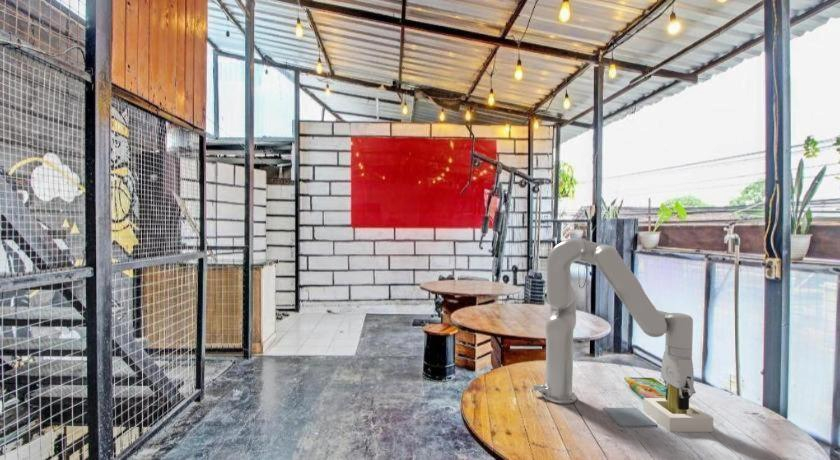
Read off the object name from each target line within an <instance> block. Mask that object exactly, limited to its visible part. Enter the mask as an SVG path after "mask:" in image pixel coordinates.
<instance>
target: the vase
mask: <svg viewBox="0 0 840 460" xmlns="http://www.w3.org/2000/svg"><path fill="white" fill-rule="evenodd" d="M684 388H685V386H684ZM684 392H686V390H683V393H684ZM678 397H680V394H679V389H677V388H675V387H674V386H672V385H671V384H669V383H668V397H667V408H666V409H667V410H668V411H669V412H671V413H672V414H687V410H680V409H678Z"/></svg>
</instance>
